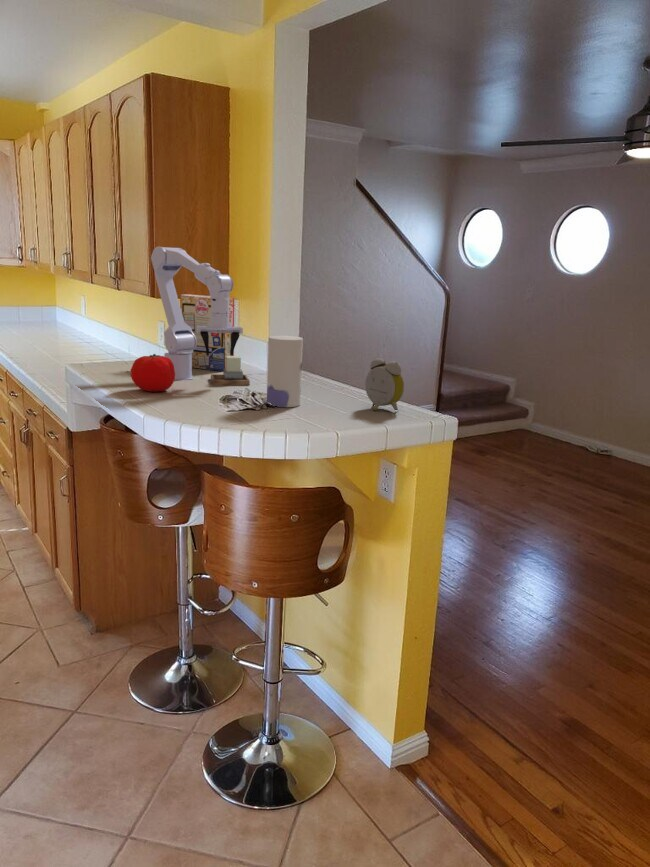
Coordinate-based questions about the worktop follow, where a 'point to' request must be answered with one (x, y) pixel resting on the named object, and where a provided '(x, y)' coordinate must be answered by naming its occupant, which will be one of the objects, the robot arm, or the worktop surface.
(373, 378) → the alarm clock
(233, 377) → the grey block
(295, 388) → the container
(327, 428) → the worktop surface
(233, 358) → the beige cube
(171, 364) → the tomato
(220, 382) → the brown wooden tray
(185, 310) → the cereal box
